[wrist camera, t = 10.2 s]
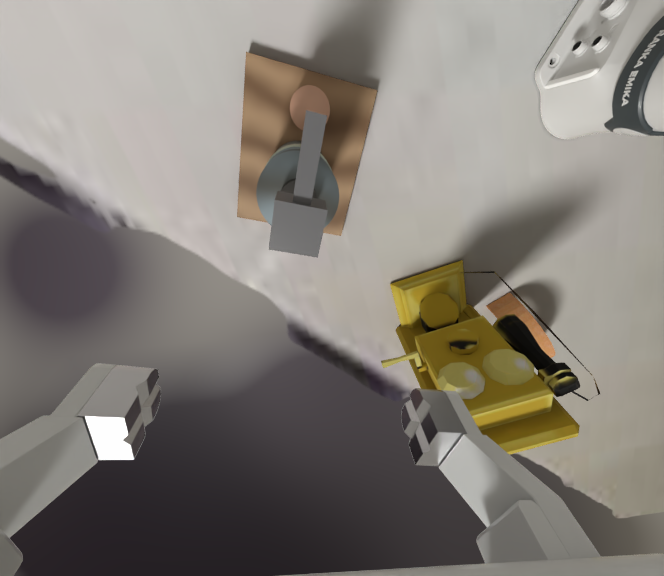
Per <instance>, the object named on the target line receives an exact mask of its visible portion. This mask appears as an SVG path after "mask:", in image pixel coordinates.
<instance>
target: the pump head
mask: <svg viewBox="0 0 664 576" xmlns="http://www.w3.org/2000/svg"><path fill="white" fill-rule="evenodd" d="M326 120H327V115H323V114H319V113H315V112H311V111H308V110H306V114H305V121H304V127H303V134H302V141H301V147H300V154H299V161H298V167H297V174H296V180H295V187H294V194H292V193H287V192H282V191H277V194H276V197H275V201H274V209H273V218H272V226H271V235H270V243H269V250H275V251H282V252H288V253H294V254H300V255H306V256H312V257H318V253H319V249H320V244H321V239H322V235H323V230H324V226H325V221H326V216H327V212H328V209H327V206H326V202H325V200H321V199H316V198H312V196H313V190H314V185H315V179H316V174H317V169H318V163H319V158H320V152H321V147H322V141H323V136H324V131H325V125H326Z"/></svg>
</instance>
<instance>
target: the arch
mask: <svg viewBox="0 0 664 576" xmlns="http://www.w3.org/2000/svg"><path fill="white" fill-rule="evenodd" d="M487 308H488V309H489V310H490V311H491V312H492V313H493V314H494V315H495V317H496V318H497V319H499V318H501V317H503V316H504V315H508V314H515V315H516V316H517V317H518V318H519V319H520V320H521V321H522V322H523V323H525V324H526V326H527V327H528V329H529V330H530V332H531V333H532V335H533V337H534V338H535V340H536V341H537V343H538V344H539V346H540V347H541V349H542V350H543V351H544V352H545V353H546V354H547V355H548V356H549V357H550V358H551V357H554V356H555V350H554V348H553V345H552V343H551V342H550V340H549V338H548V337H547V335H546V334H545V332H544V331H543V329H542V328H541V327H540V325H539V324H538V323H537V321H536V320H535V319H534V317H533V316H532V315H531V314H530V313H529V312H528V310H527V309H526V308H525V307H524V306H523V305H522V304H521V303H520V302H519V301H518V300H517V299H516V298H515V297H514V296H513V295H512V294H511V293H508V294H506V295H504V296H503V297H501V298H499V299H497V300H496V301H494V302H492V303H490V304H489V305H487Z"/></svg>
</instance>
